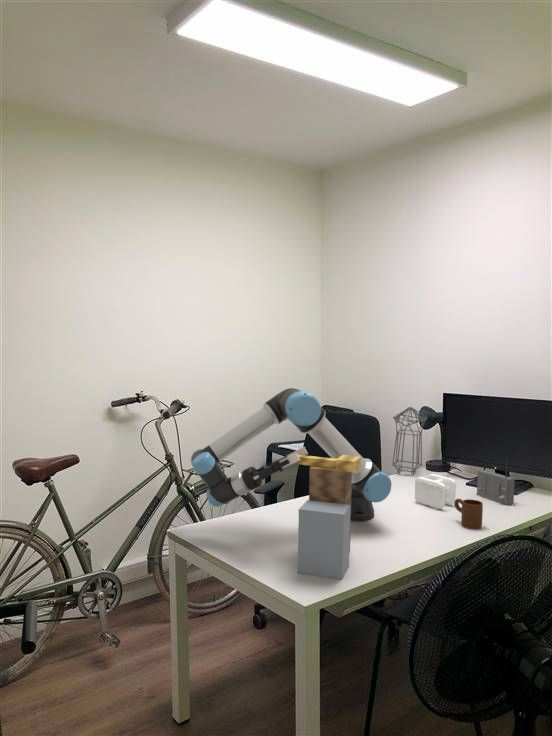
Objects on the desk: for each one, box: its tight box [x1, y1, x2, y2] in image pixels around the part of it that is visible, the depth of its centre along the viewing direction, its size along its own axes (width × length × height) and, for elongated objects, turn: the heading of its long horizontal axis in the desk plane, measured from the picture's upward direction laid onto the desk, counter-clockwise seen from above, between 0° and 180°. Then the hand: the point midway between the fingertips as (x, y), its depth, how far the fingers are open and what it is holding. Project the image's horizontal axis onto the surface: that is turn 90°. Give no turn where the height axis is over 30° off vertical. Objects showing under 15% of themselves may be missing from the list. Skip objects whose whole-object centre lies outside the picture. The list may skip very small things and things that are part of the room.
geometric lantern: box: [391, 406, 428, 476], centre depth 302 cm, size 16×16×35 cm
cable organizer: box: [414, 473, 457, 510], centre depth 250 cm, size 15×11×12 cm
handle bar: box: [286, 453, 361, 473], centre depth 192 cm, size 24×8×4 cm, turn 67°
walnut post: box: [308, 466, 352, 554], centre depth 192 cm, size 12×10×30 cm
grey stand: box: [297, 499, 351, 580], centre depth 181 cm, size 14×10×20 cm
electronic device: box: [476, 458, 516, 506], centre depth 257 cm, size 17×7×20 cm, turn 29°
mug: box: [453, 498, 484, 530], centre depth 225 cm, size 12×8×9 cm, turn 34°
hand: (301, 453), depth 194 cm, fingers open, 9 cm apart
